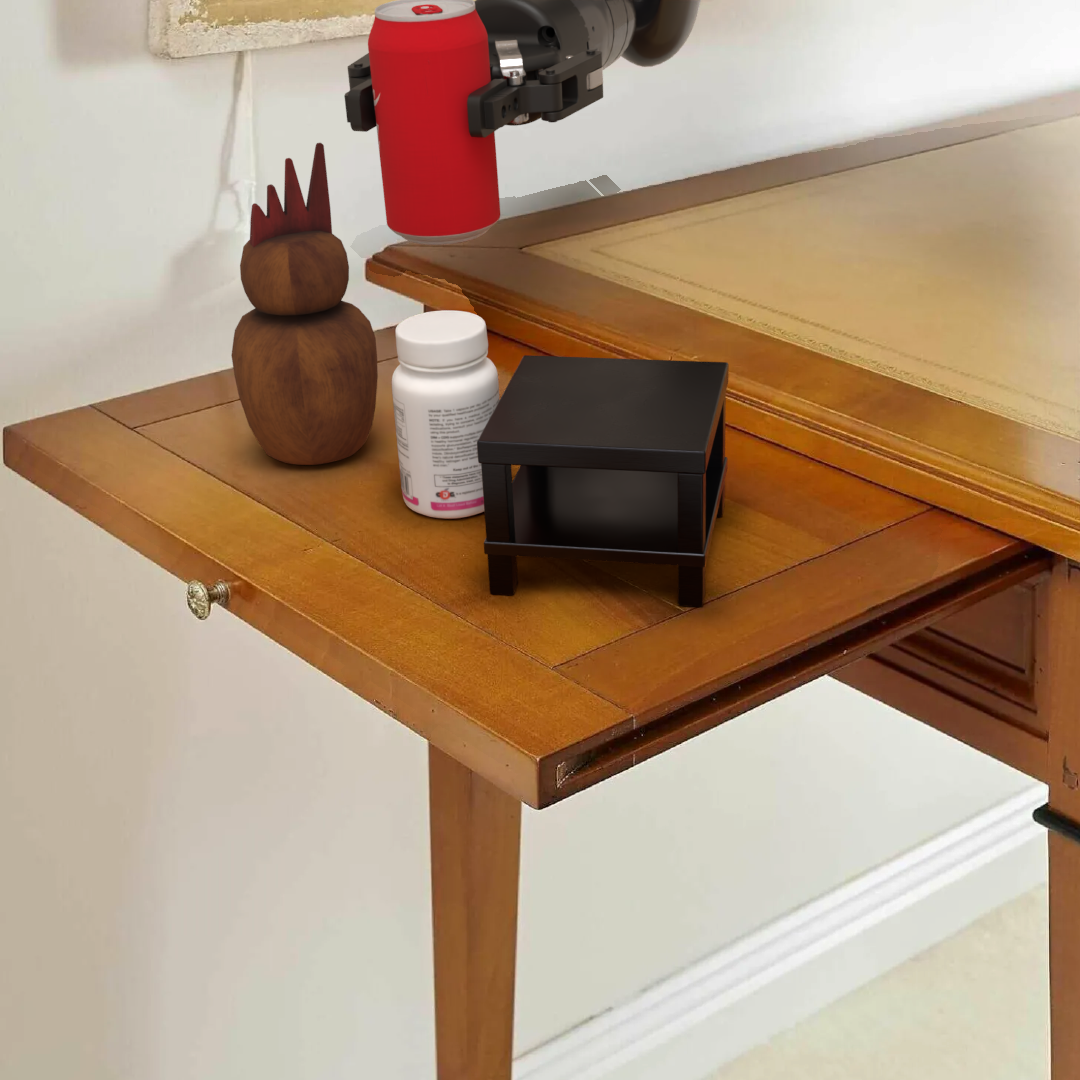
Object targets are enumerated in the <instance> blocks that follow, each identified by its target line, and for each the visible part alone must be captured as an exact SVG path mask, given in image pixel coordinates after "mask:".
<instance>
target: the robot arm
mask: <svg viewBox="0 0 1080 1080" xmlns="http://www.w3.org/2000/svg"><path fill="white" fill-rule="evenodd" d="M473 1H474V2H475V9H476V11H477V13H478V15H479V17H480V19H481V21H482V23H483V24H484V26H485V29H486V31H487V35H488V48H489V62H490V76H491V81H490V82H489V83H488V84H486V85H484V86H482V87H480V88H479V89H477V90H475V91H474V92H472V93H470V94H469V96H468V99H467V111H468V124H469V133H470V136H471V137H483V138H485V137H487V136H488V135H490V134H491V133H493V132H494V131H495V132H496V131H498V129H501V128H503V127H505V126H509V127H510V126H512V127H513V126H516V127H517V126H523V125H528V124H532V123H534V122H536V121H538V120H540V119H541V120H542V121H544V122H548V123H557V122H559V121H562V120H564V119H566V118H568V117H570V116H571V115H574V114H575V113H578V112H579V111H581V110H583V109H585V108H586V107H589V106H590V105H592V104H594V103H596V102H597V101H600V100H601V99H603V98H604V70H606V69H607V68H608V67H610V66H611V65H613V64H614V63H615V62H616V61H617V60H619V59H620V58H622V59H624V60H626V61H627V62H629V63H631V64H633V65H635V66H638V67H641V68H649V67H650V68H651V67H655V66H658V65H661V64H663V63H665V62H667V61H669V60H671V58H673V57H674V56H675V55H677V54H678V52H679V51H680V50H681V49H682V48H683V46H685V44H686V42H687V41H688V39H689V37H690V35H691V33H692V31H693V28H694V26H695V23H696V20H697V17H698V14H699V10H700V5H701V2H702V0H473ZM347 75H348V76H347V77H348V85H349V91H347V92H345V93H344V103H345V114H346V122H347V123H349V124H350V128H351V130H352V131H353V132H361V133H362V132H363V133H364V132H365V133H366V132H367V133H368V132H369V131H370V130H372V129H374V128H377V126H376V116H375V107H374V98H373V88H372V79H371V69H370V60H369V52H367V53H366V54H364V55H363V56H361V57H360V58H358V59H357V60H355V61H353V62H352V63H351V64H349V65H348V66H347Z"/></svg>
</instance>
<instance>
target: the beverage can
mask: <svg viewBox="0 0 1080 1080" xmlns="http://www.w3.org/2000/svg"><path fill="white" fill-rule="evenodd" d="M474 1H475V0H392V1H388V2H385V3H382V4H379V5H378V6H376V7H375V8H374V19H373V23H372V25H371V29H370V32H369V35H368V37H367V38H368V39H367V50H368V53H369V60H370V69H371V79H372V88H373V98H374V107H375V116H376V134H377V144H378V155H379V161H380V171H381V181H382V190H383V199H384V211H385V218H386V219H385V220H386V225H387V227H388V229H390V230H391V231H392V232H393V233H394V234H396V235H397V236H399V237H401V238H402V239H404V240H406V241H407V242H410V243H413V244H417V245H425V246H446V245H455V244H461V243H462V244H463V243H466V242H469V241H473V240H475V239H477V238H480V237H482V236H483V235H485V234H486V233H488V231H489V230H490V229H491V228H493V227H494V226H495V225H496V224H497V222H498V221H499V220H500V218H501V203H500V188H499V187H500V186H499V175H498V160H497V149H496V148H497V147H496V145H497V144H496V131H494V132H493V133H491V134H490V135H488V136H487V137H485V138H483V137H471V136H470V133H469V124H468V111H467V99H468V96H469V94H470V93H472V92H474V91H475V90H477V89H479V88H480V87H482V86H484V85H486V84H488V83H489V82H490V81H491V76H490V62H489V48H488V35H487V31H486V29H485V26H484V24H483V23H482V21H481V19H480V17H479V15H478V13H477V11H476V9H475V2H474Z"/></svg>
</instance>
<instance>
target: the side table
mask: <svg viewBox="0 0 1080 1080" xmlns="http://www.w3.org/2000/svg"><path fill="white" fill-rule="evenodd" d="M729 365H730V364H729V363H728V362H727V361H725V362H724V361H700V360H698V361H697V360H673V359H671V360H670V359H640V358H617V357H616V358H615V357H614V358H613V357H586V356H585V357H583V356H560V355H559V356H556V355H530V354H529V355H526V354H524V355H522V358H521V359H520V361H519V364H518V366H517V367H516V369H515V371H514V373H513V375H512V376H511V378H510V379H509V382H508V384H507V386H506V387H505V389H504V391H503V393H502V395H501V397H499V402H498V404H497V406H496V408H495V409H494V411H493V413H492V415H491V417H490V419H489V420H488V422H487V424H486V426H485V428H484V430H483V432H482V433H481V435H480V437H479V439H478V441H477V453H478V462H479V463H481V469H482V483H483V498H484V524H485V525H484V527H485V536H486V537H485V539H484V541H483V553H484V555H487V556H486V557H487V570H488V584H489V585H488V586H489V593H490V595H503V596H505V595H507V596H513V595H514V594H515V591H516V589H517V586H518V584H519V577H518V576H519V573H518V559H517V558H518V557H522V558H523V557H524V558H541V559H543V558H544V559H557V560H574V561H575V560H576V561H590V562H591V561H592V562H607V563H608V562H609V563H625V564H639V565H640V564H642V565H658V566H675V567H677V604H678V605H679V607H680V606H681V607H683V606H684V607H699V608H701V607H703V606H704V603H705V598H706V565H707V560H708V556H709V551H710V546H711V543H712V538H713V533H714V530H715V525H716V520H717V518H721V517H723V515H724V511H725V506H726V505H725V501H726V500H725V498H726V495H725V493H726V477H727V472H728V463H729V461H728V457H727V456H726V416H727V415H726V414H727V413H726V408H727V407H726V405H727V404H726V403H727V400H726V399H727V389H728V385H729V374H730V373H729V372H730V371H729V369H730V368H729ZM512 466H519V467H518V469H517V472H516V474H515V476H514V477H513V475H512V473H513V472H512Z"/></svg>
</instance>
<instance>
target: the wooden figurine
mask: <svg viewBox="0 0 1080 1080" xmlns="http://www.w3.org/2000/svg"><path fill="white" fill-rule="evenodd" d="M314 147H315V148H314V154H313V159H312V165H311V172H310V177H309V178H310V179H309V186H308V191H307V199H306V202H305V199H304V195H303V191H302V189H301V184H300V182H299V178H298V175H297V171H296V168H295V165H294V162H293V159H292V158H290V157H286V158H285V160H284V187H283V188H284V192H283V195H284V196H283V202H284V203H283V205H282V203H281V200H280V198H279V194H278V192H277V188H276V187H275V186H274V185H273V184H267V186H266V214H265V212H264V211H263V209H262V207H261V206H260V205H258V203H253V204H252V205H251V212H250V226H249V228H250V229H249V239H248V241H247V242H245V244H244V245H243V246H242V253H241V258H240V263H239V269H240V270H239V272H240V281H241V284H242V288H243V291H244V294H245V295H246V297H247V299H248V301H249V302H250V304H251V305H252V306H253V309H252V310H249V311H248V312H246V313H245V314H243V315H242V316H241V318H240V320H239V322H238V324H237V325H236V327H235V329H234V332H233V333H234V334H233V339H232V347H231V348H232V349H231V362H232V369H233V374H234V375H233V376H234V380H235V384H236V389H237V393H238V398H239V401H240V404H241V407H242V409H243V412H244V415H245V418H246V421H247V424H248V426H249V428H250V430H251V432H252V433H253V435H254V437H255V439H256V441H257V442H258V444H259V445H260V447H261V448H262V450H263V451H264V452H265V454H266V455H267V456H269V457H270V458H272V459H274V460H277V461H279V462H281V463H284V464H289V465H290V464H291V465H297V466H298V465H299V466H300V465H302V466H304V465H305V466H306V465H307V466H311V465H312V466H316V465H323V464H328V463H333V462H336V461H341V460H344V459H346V458H349V457H352V456H353V455H355V454H356V453H357V452H359V450H360V449H361V448H362V447H363V445H365V443H366V442H367V440H368V437H369V435H370V433H371V430H372V428H373V423H374V417H375V411H376V404H377V393H378V391H377V390H378V378H379V375H378V374H379V373H378V351H377V339H376V336H375V332H374V329H373V327H372V324H371V321H370V320H369V318H368V317H367V316H366V315H365V314H364V313H363V311H362V310H361V309H360V308H359V307H357V306H356V305H354V304H353V303H350V302H349V301H348V302H347V301H345V300H342V299H344V296H345V295H346V292H347V289H348V285H349V281H350V265H349V259H348V252H347V251H346V248H345V245H344V244H343V241H342V240H341V239H340V238H339V237H337V236H336V235H335V234H334V233H333V226H332V213H331V203H330V201H331V200H330V191H329V183H328V173H327V162H326V155H325V153H326V152H325V146H324V144H323V143H322V142H317V143H315V146H314Z"/></svg>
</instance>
